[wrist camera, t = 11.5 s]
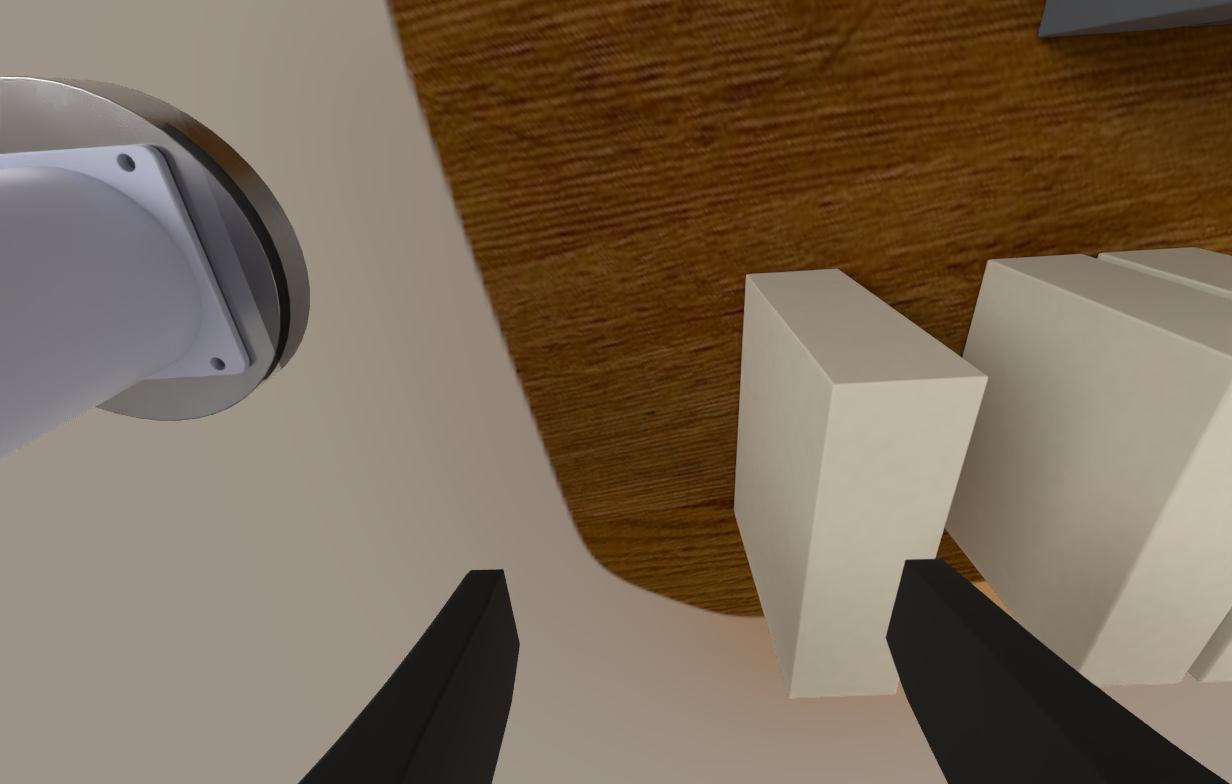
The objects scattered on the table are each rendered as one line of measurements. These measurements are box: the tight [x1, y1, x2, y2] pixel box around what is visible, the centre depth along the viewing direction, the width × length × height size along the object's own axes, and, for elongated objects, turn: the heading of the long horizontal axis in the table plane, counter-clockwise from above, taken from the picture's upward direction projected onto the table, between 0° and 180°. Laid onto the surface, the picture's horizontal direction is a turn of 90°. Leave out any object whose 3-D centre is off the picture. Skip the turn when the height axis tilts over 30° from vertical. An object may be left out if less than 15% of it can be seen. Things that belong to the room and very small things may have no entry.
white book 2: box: [944, 254, 1232, 686], centre depth 16 cm, size 3×10×8 cm, turn 4°
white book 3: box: [1097, 247, 1232, 683], centre depth 16 cm, size 3×10×8 cm, turn 4°
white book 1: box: [734, 269, 988, 698], centre depth 16 cm, size 3×10×8 cm, turn 4°
